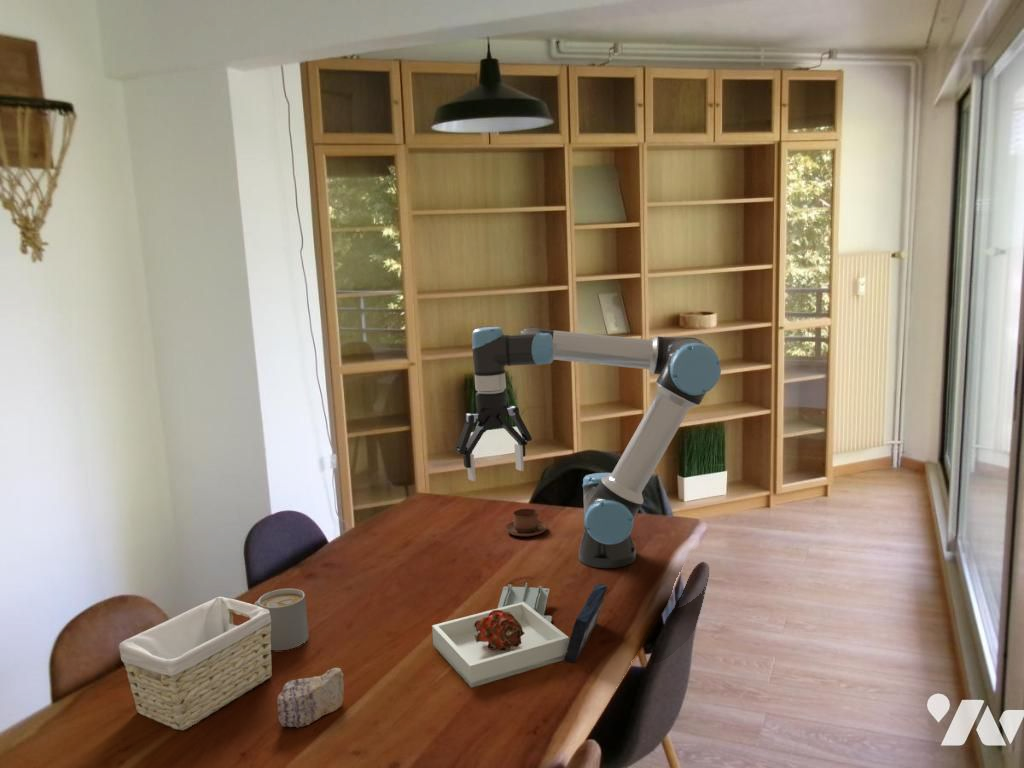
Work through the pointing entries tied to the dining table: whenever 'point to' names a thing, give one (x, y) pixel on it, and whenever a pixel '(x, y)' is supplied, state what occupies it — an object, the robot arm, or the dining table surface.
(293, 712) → the mineral specimen
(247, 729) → the dining table surface
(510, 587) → the metal bracket
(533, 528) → the cup and saucer
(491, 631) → the dragon fruit
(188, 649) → the storage basket
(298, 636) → the coffee mug
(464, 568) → the dining table surface
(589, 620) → the vhs cassette tape
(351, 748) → the dining table surface
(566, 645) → the tray
